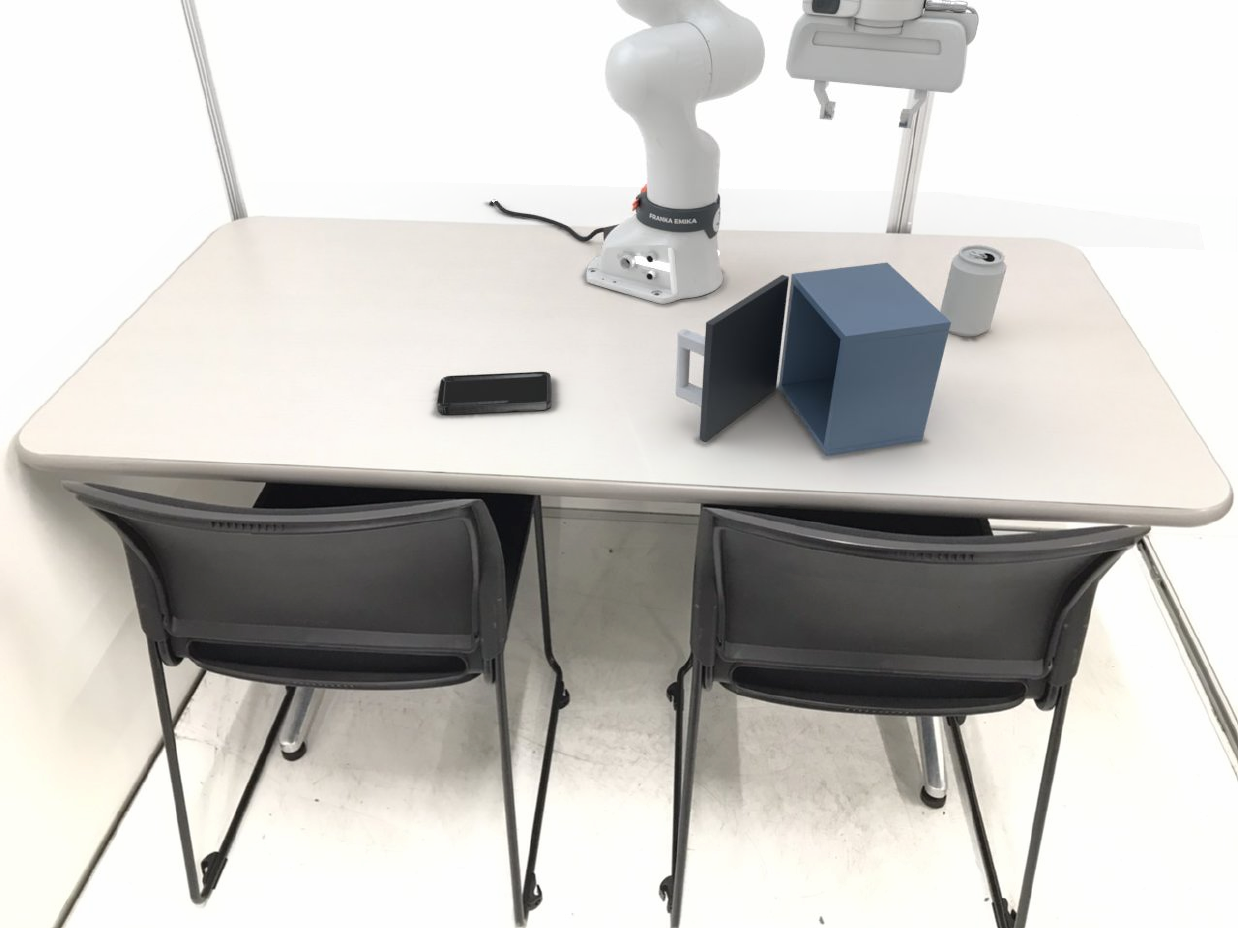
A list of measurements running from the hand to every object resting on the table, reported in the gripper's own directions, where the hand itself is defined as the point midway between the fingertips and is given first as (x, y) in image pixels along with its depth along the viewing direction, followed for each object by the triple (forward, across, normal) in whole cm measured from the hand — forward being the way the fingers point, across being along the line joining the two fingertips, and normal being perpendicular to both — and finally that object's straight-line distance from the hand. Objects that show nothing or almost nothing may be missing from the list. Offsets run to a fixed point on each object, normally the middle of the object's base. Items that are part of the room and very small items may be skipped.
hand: (865, 122), depth 110 cm
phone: (+33, +40, +26) cm, 58 cm away
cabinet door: (+33, +11, +17) cm, 39 cm away
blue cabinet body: (+33, -5, +13) cm, 36 cm away
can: (+33, -17, -16) cm, 41 cm away
